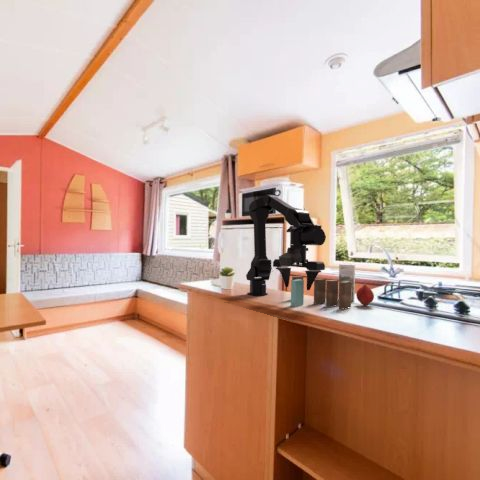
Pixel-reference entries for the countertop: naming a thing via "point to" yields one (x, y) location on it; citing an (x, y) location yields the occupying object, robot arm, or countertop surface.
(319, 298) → the domino
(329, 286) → the domino
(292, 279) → the domino
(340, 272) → the syrup box
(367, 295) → the onion
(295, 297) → the domino
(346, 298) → the domino
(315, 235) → the robot arm
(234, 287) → the countertop surface
